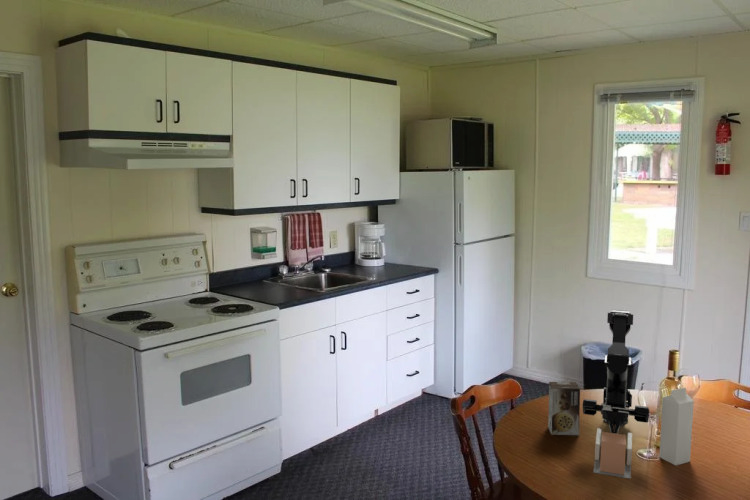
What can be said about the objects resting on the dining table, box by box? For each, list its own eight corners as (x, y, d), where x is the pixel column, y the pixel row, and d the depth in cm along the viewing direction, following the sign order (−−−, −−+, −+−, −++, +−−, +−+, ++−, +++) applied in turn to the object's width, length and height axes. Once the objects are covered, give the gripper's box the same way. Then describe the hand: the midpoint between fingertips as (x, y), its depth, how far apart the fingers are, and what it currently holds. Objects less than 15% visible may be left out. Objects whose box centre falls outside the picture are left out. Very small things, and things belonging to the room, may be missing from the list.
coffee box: (575, 427, 210) (576, 381, 208) (579, 435, 204) (581, 388, 202) (547, 426, 211) (548, 380, 209) (550, 435, 205) (552, 387, 203)
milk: (690, 462, 186) (695, 390, 183) (675, 465, 183) (680, 393, 180) (673, 453, 191) (677, 384, 188) (658, 457, 189) (663, 387, 186)
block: (601, 460, 187) (602, 431, 186) (624, 464, 184) (625, 435, 183) (600, 470, 180) (601, 441, 179) (624, 474, 178) (625, 444, 177)
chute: (596, 443, 199) (597, 428, 198) (631, 448, 195) (631, 433, 194) (593, 472, 180) (593, 456, 179) (631, 478, 176) (631, 462, 175)
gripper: (647, 404, 196) (646, 452, 188) (585, 396, 203) (581, 442, 195) (649, 388, 188) (648, 438, 179) (584, 381, 195) (580, 428, 186)
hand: (613, 437), depth 185 cm, fingers closed
